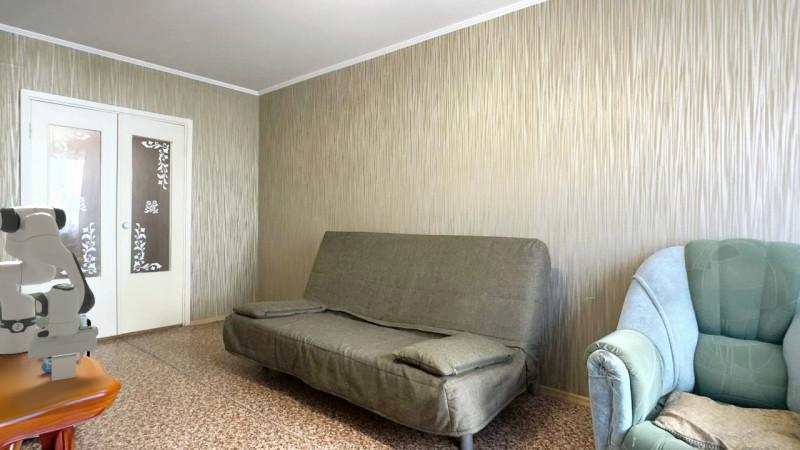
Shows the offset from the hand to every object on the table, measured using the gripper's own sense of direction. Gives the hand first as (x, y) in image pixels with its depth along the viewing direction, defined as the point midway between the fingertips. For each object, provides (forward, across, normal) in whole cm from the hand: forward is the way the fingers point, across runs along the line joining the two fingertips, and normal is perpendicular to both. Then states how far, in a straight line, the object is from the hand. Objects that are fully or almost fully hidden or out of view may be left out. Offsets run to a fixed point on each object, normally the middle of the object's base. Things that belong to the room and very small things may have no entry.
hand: (63, 366), depth 161 cm
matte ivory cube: (+4, 0, 0) cm, 4 cm away
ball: (+1, +4, -8) cm, 9 cm away
